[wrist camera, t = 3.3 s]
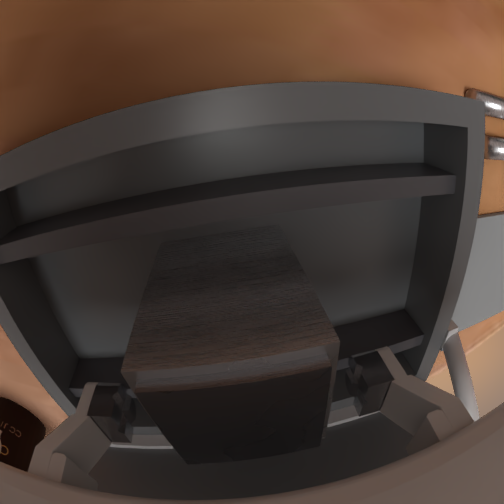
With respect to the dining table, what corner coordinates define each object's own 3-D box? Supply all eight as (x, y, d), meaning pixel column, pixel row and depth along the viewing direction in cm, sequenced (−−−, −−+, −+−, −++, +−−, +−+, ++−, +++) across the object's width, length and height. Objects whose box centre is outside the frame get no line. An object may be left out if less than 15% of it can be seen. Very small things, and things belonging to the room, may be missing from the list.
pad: (458, 218, 15) (462, 220, 14) (530, 207, 15) (533, 209, 15) (428, 339, 19) (430, 343, 19) (501, 307, 20) (503, 310, 19)
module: (160, 242, 12) (117, 384, 5) (278, 224, 12) (346, 353, 6) (187, 331, 14) (181, 467, 8) (285, 316, 15) (328, 447, 8)
